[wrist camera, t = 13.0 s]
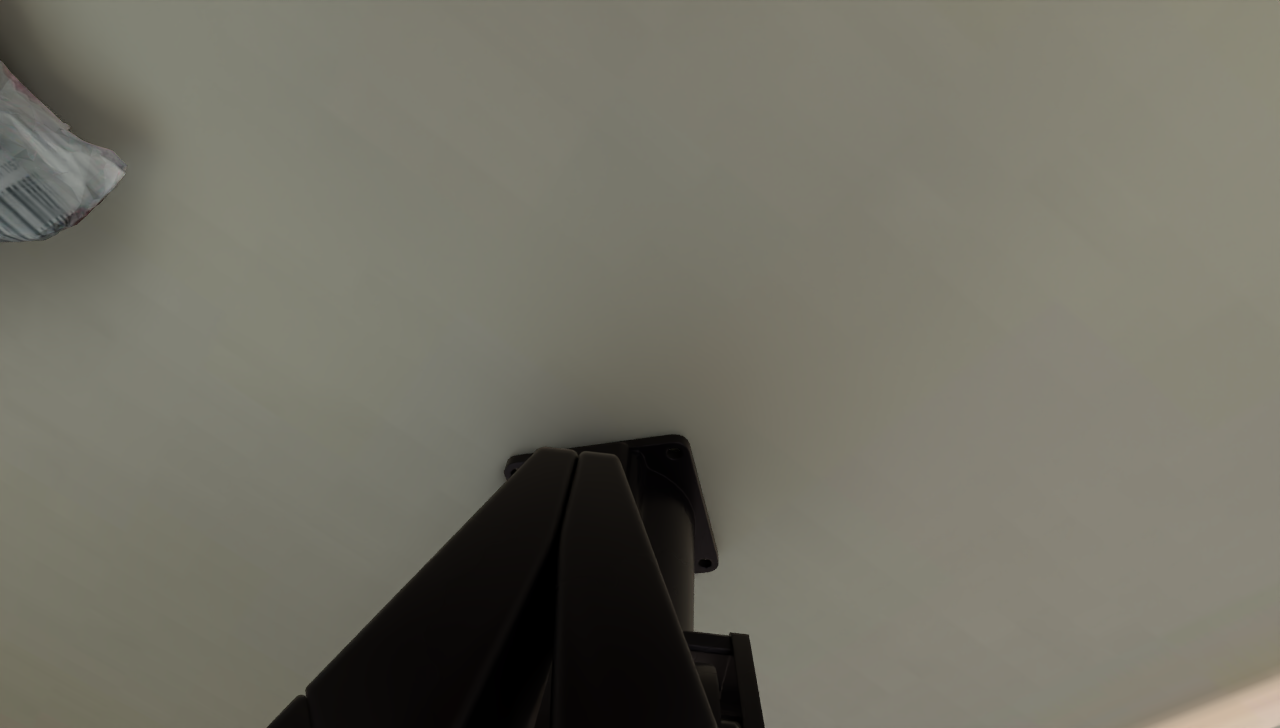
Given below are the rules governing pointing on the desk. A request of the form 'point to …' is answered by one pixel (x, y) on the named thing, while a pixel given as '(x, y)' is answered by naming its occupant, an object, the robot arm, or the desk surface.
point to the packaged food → (46, 168)
